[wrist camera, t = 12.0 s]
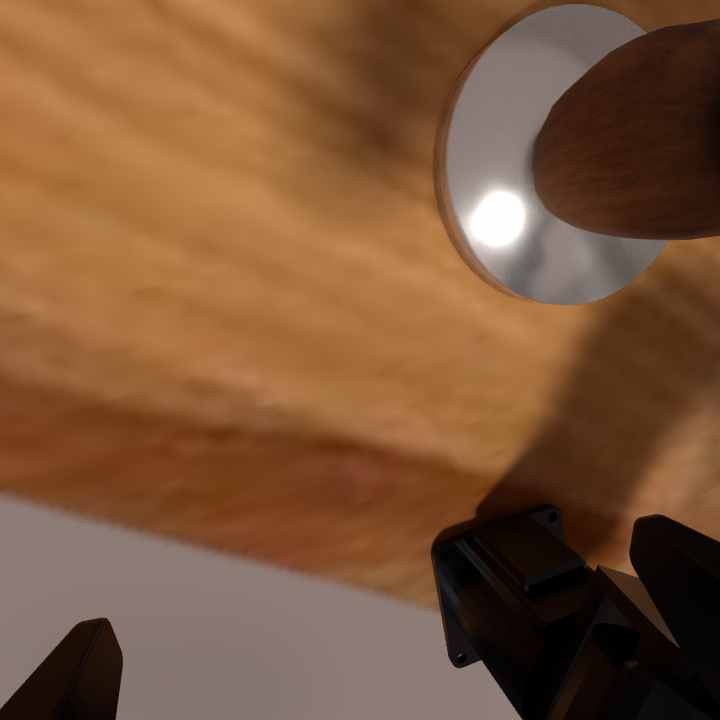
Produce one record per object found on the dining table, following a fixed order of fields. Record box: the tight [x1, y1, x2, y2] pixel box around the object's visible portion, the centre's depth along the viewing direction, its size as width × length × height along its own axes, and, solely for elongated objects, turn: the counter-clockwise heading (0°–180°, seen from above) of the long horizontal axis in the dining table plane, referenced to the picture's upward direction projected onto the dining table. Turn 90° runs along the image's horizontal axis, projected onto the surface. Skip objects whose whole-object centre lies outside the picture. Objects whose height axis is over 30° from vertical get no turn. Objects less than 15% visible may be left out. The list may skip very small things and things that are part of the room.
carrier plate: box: [433, 4, 668, 305], centre depth 21 cm, size 11×11×2 cm
